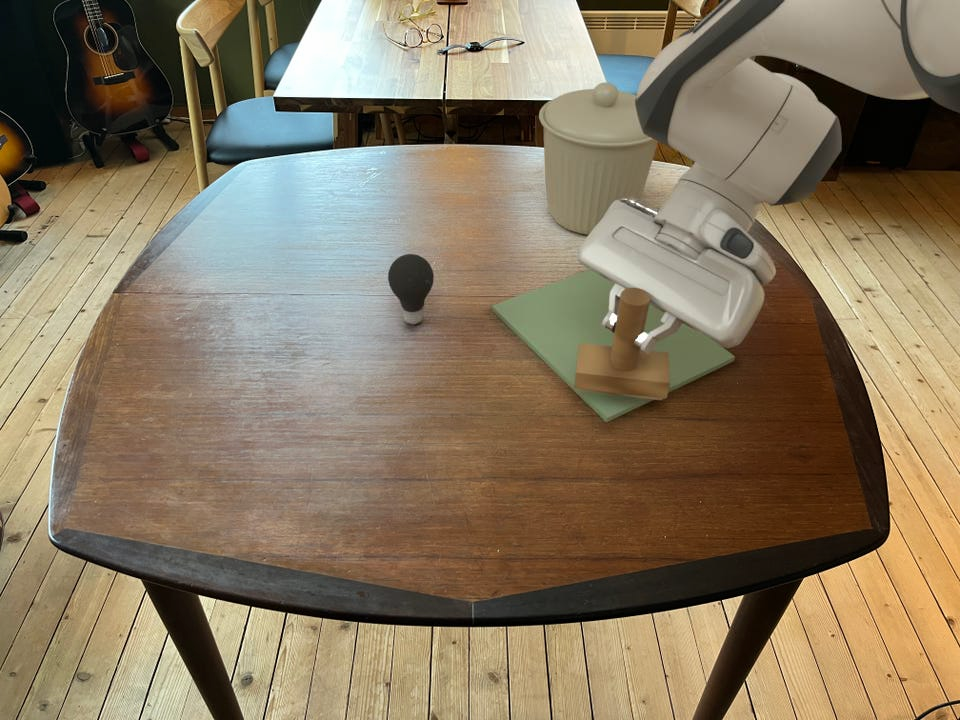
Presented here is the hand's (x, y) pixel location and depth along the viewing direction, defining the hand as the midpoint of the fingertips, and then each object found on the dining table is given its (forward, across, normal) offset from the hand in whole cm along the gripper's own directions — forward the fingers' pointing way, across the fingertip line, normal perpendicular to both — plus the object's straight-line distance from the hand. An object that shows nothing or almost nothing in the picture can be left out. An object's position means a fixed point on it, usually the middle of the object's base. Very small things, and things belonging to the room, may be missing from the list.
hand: (624, 339), depth 78 cm
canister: (-14, -30, +28) cm, 43 cm away
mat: (0, -9, +13) cm, 16 cm away
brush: (+4, 0, +5) cm, 7 cm away
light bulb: (+13, -27, +1) cm, 30 cm away
